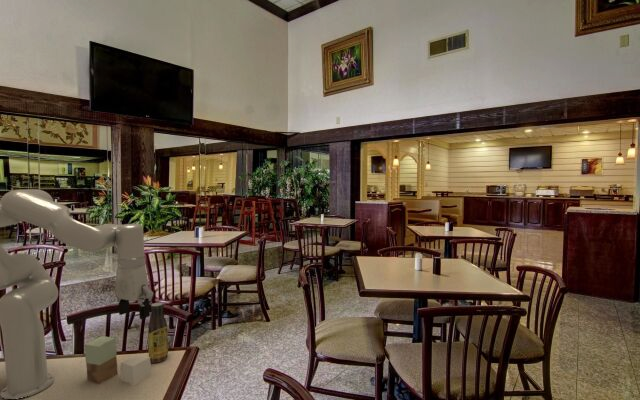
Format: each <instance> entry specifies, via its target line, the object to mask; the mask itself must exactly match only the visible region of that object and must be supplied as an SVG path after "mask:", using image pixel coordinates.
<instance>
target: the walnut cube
mask: <svg viewBox="0 0 640 400" xmlns="http://www.w3.org/2000/svg"><path fill="white" fill-rule="evenodd" d="M85 365H86V378H87V379H86V380H87V381H89V382H91V383H94V384H95V383H96V384H98V385H100V384H102V383H104V382H106V381H107V380H109V379H111V378H113V377H115V376H117V375H118V361H117V356H116V357H114V358H112V359H110V360H108V361H107V362H105V363H103V364H101V365H95V364H90V363H86V362H85Z"/></svg>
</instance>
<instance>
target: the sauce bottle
mask: <svg viewBox="0 0 640 400" xmlns="http://www.w3.org/2000/svg"><path fill="white" fill-rule="evenodd" d="M150 310H151V317H150V318H151V319H150V320H149V323H148V327H147V328H148V331H147V336H148V337H147V339H148V341H147V342H148V346H147V349H148V357H150V364H151V363H152V364H156V363H161V362H164V361H165V360H167V359H168V354H169V339H168V338H169V337H168V333H169V332H168V323H167V319H166V317H165V316H164V315H165V314H164V302H155V303H152V304H150Z"/></svg>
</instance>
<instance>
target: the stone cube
mask: <svg viewBox="0 0 640 400" xmlns="http://www.w3.org/2000/svg"><path fill="white" fill-rule="evenodd" d="M151 366H152V365H151V362H150V357H149V355H148V356H147V355H143V354H140V353H136V354H134V355H132V356H130V357H128V358H126V359H125V360H123V361H121V362H120V376H121V377H120V378H121V382H124V383H127V384H130V385H133V386H135V385H137V384H138V383H140V382H141V381H143V380H145V379H146V378H148V377H150V376H151V375H152V367H151Z"/></svg>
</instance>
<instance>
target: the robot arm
mask: <svg viewBox="0 0 640 400" xmlns="http://www.w3.org/2000/svg"><path fill="white" fill-rule="evenodd" d="M70 215H71V212H70V208H69V207H68V206H66V205H65V204H64V205H63V204H62V203H59V202H56V201H54V199H53V197H52V196H51V194H50V193H48V192H47V191H44V190H42V189H28V188H27V189H26V188H25V189H24V188H23V189H14V190H10V191H8V192H6V193H5V194H4V195H2V197H1V198H0V228H4V227H5V228H6V227H9V226H12V225H16V224H19V223H22V222H25V223H28V224H31V225H34V226H36V227H39V228H41V229H43V230H47V231H49V232H50V233H51V235H52V236H54V237H55V238H56V239H57V240H59V242H61V243H63V244H65V245H67V246H69V247H73V248H75V249H78V250H81V251H83V252H88V253H97V252H101V251H104V250H107V249H109V248H113V247H116V257H117V268H116V274H115V286H114V287H113V290H114V291H113V292H114V293H115V297H116V298H117V299H116V302H117V303H118V313H119V314H118V315H119V316H121V315H125V314H128V313H129V312H131V311H130V302H137V303H139V307H138V315H139V320H143V319H146V318H148V317H150V316H151V314H150V313H151V311H150V310H151V307H150V305H151V302H152V301H153V296H154V291H152V289H150V288H149V280H148V273H147V269H146V259H145V258H146V257H145V241H144V227H143V226H142V224H140V223H125V224H116V223H105V224H100V225H99V224H98V225H96V226H95V225H94V226H92V225H89V224H85V223H83V222H81V221H78V220H76V219H74V218H73V217H71V216H70ZM14 286H17V288H14V289H12V290H11V291H8V292H6V293H5V294H4V295H2V296H1V297H0V328H1V335H2V343H3V353H4V364H5V365H4V366H5V377H6V378H5V379H6V386H5V387H4V388H3V389H2V390H1V391H0V398H1V397H2V398H4V399H16V398H21V397H25V398H28V397H31V396H34V395H37V394H39V393H40V392H42V391H44V390H46V389H48V388H49V387H50V386H52V384H53V383H54V381H55V376H54V375H53V374H52V373H48V365H47V364H48V363H47V353H46V352H47V351H46V339H45V328H44V324H43V322H42V320H41V318H40V317H39V315H38V313H40V312H41V311H43V310H45V309H47V308H49V307H51V306H52V305H53V304H54V303H55V302H56V301H57V299H58V297H59V289H58V287H57V284H56V283H55V281H54V280H53V279H52V277H51V276H50V274H49V273H48V272H47V270H46V269H45V268H44V265H42V263H41V262H40V261H39V259H38V258H36V257H35V256H33V255H32V254H29V253H25V252H20V253H18V252H17V253H13V254H9V253H8V252H7V251H6V249H4V247H3V245H2V243H0V291H1V290H5V289H8V288H10V287H14ZM143 299H144V300H143ZM27 396H28V397H27ZM2 398H1V399H2ZM4 399H3V400H4Z"/></svg>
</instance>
